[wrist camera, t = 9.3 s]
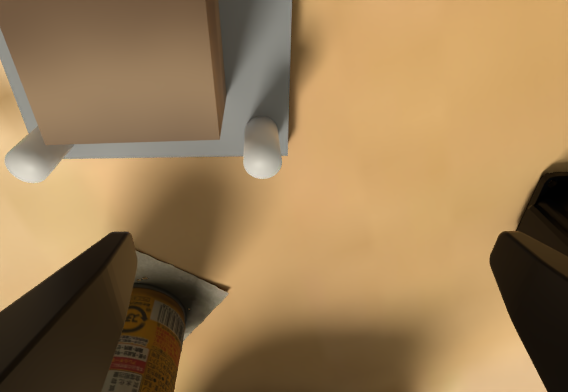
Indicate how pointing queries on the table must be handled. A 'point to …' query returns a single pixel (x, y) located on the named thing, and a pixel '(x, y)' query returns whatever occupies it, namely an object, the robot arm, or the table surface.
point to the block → (119, 68)
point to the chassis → (238, 108)
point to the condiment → (158, 326)
